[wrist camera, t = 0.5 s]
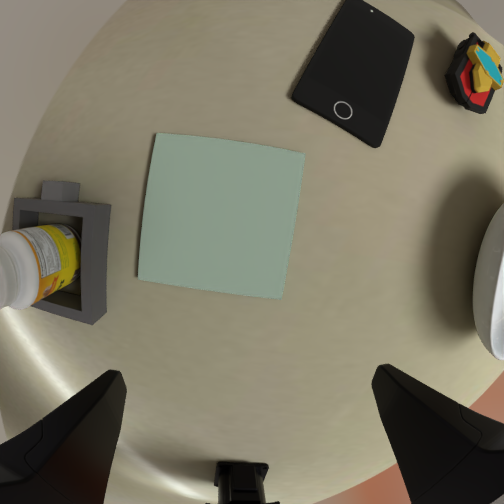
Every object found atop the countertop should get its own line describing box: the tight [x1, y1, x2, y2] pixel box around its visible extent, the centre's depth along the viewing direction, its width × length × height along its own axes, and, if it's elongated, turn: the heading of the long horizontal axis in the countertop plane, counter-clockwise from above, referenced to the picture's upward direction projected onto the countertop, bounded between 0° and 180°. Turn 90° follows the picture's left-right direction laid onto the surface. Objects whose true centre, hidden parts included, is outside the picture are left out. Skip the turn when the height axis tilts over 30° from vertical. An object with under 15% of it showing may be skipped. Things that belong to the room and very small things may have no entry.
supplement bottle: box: [0, 224, 82, 310], centre depth 15 cm, size 6×6×10 cm
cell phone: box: [291, 0, 415, 148], centre depth 19 cm, size 9×18×1 cm, turn 154°
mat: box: [138, 133, 305, 300], centre depth 21 cm, size 12×12×1 cm
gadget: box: [445, 32, 504, 114], centre depth 18 cm, size 6×13×6 cm, turn 144°
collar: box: [13, 181, 111, 325], centre depth 19 cm, size 11×10×3 cm
